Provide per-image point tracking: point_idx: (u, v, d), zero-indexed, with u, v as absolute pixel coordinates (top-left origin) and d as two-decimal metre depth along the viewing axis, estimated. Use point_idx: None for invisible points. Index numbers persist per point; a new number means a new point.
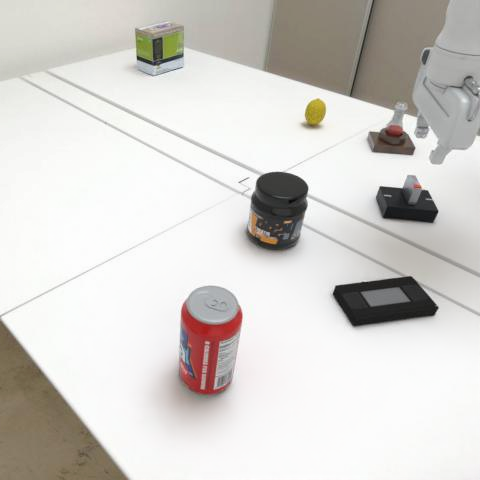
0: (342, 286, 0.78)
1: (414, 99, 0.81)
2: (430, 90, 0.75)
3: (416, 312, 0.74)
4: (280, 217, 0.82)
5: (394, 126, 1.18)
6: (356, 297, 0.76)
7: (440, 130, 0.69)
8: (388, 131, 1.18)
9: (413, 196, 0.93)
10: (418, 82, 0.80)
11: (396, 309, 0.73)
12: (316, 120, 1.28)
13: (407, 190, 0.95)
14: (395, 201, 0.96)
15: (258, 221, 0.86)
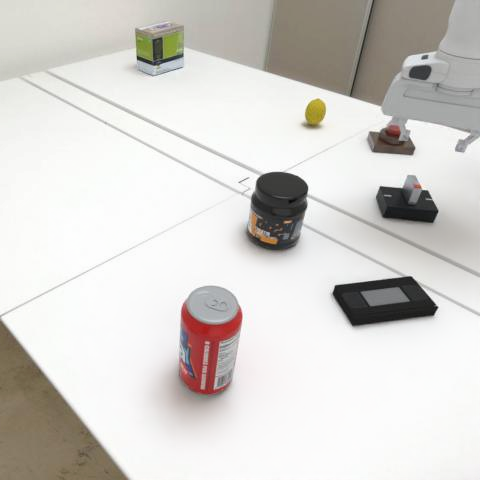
0: (342, 286, 0.78)
1: (391, 112, 0.82)
2: (428, 98, 0.79)
3: (415, 312, 0.74)
4: (280, 217, 0.82)
5: (394, 126, 1.18)
6: (356, 297, 0.76)
7: None
8: (388, 131, 1.18)
9: (413, 196, 0.93)
10: (393, 97, 0.81)
11: (396, 308, 0.74)
12: (316, 120, 1.28)
13: (407, 190, 0.95)
14: (395, 201, 0.96)
15: (258, 221, 0.86)
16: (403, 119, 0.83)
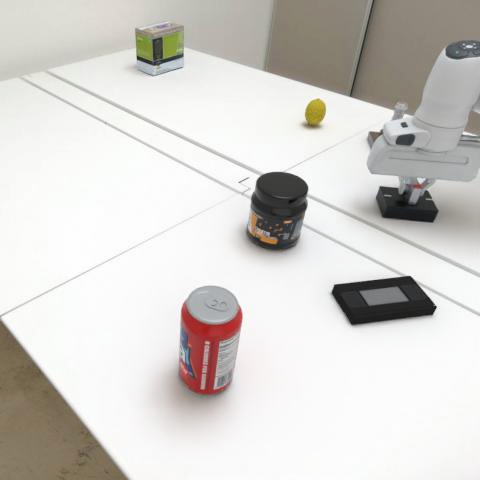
0: (341, 285, 0.78)
1: (379, 172, 0.92)
2: (409, 158, 0.90)
3: (414, 311, 0.74)
4: (280, 217, 0.82)
5: None
6: (354, 296, 0.76)
7: (457, 174, 0.90)
8: None
9: (413, 196, 0.93)
10: (381, 159, 0.90)
11: (394, 308, 0.74)
12: (316, 120, 1.28)
13: None
14: (395, 201, 0.96)
15: (258, 221, 0.86)
16: (404, 177, 0.93)
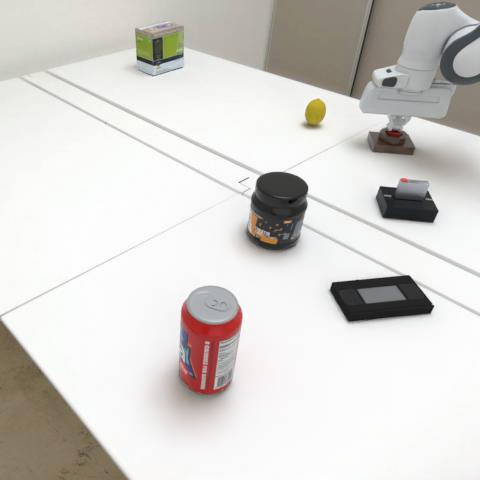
0: (339, 283, 0.78)
1: (369, 111, 1.14)
2: (393, 98, 1.12)
3: (411, 310, 0.74)
4: (280, 217, 0.82)
5: None
6: (352, 294, 0.77)
7: (431, 112, 1.12)
8: None
9: (397, 186, 0.96)
10: (370, 100, 1.13)
11: (391, 306, 0.74)
12: (316, 120, 1.28)
13: None
14: (395, 201, 0.96)
15: (258, 221, 0.86)
16: (393, 116, 1.15)
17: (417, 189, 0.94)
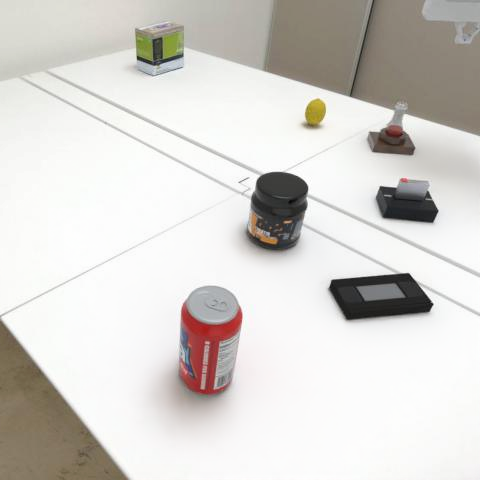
0: (338, 280, 0.79)
1: (435, 17, 0.98)
2: (465, 0, 0.95)
3: (410, 308, 0.74)
4: (280, 217, 0.82)
5: (394, 126, 1.18)
6: (351, 291, 0.77)
7: None
8: (388, 131, 1.18)
9: (397, 186, 0.96)
10: (437, 2, 0.96)
11: (390, 304, 0.74)
12: (316, 120, 1.28)
13: None
14: (395, 201, 0.96)
15: (258, 221, 0.86)
16: (462, 23, 0.98)
17: (417, 189, 0.94)
